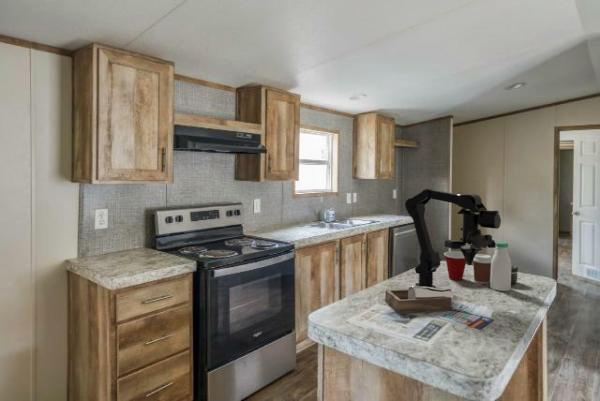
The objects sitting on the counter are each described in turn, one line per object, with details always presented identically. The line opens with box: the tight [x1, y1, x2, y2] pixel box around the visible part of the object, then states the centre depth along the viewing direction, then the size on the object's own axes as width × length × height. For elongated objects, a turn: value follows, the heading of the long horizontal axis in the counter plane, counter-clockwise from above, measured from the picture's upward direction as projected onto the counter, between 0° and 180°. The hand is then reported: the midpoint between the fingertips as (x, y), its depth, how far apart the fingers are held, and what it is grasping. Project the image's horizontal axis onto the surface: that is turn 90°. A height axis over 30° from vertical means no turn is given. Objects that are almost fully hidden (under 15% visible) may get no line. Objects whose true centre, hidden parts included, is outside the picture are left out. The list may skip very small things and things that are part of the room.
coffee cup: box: [472, 253, 492, 285], centre depth 170 cm, size 9×9×12 cm
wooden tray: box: [384, 288, 453, 315], centre depth 140 cm, size 14×20×4 cm
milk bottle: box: [489, 241, 512, 292], centre depth 159 cm, size 8×8×20 cm
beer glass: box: [407, 285, 454, 304], centre depth 139 cm, size 7×7×15 cm
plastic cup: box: [443, 250, 467, 281], centre depth 175 cm, size 11×11×12 cm
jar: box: [511, 264, 519, 286], centre depth 170 cm, size 10×10×8 cm
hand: (469, 265), depth 148 cm, fingers closed
